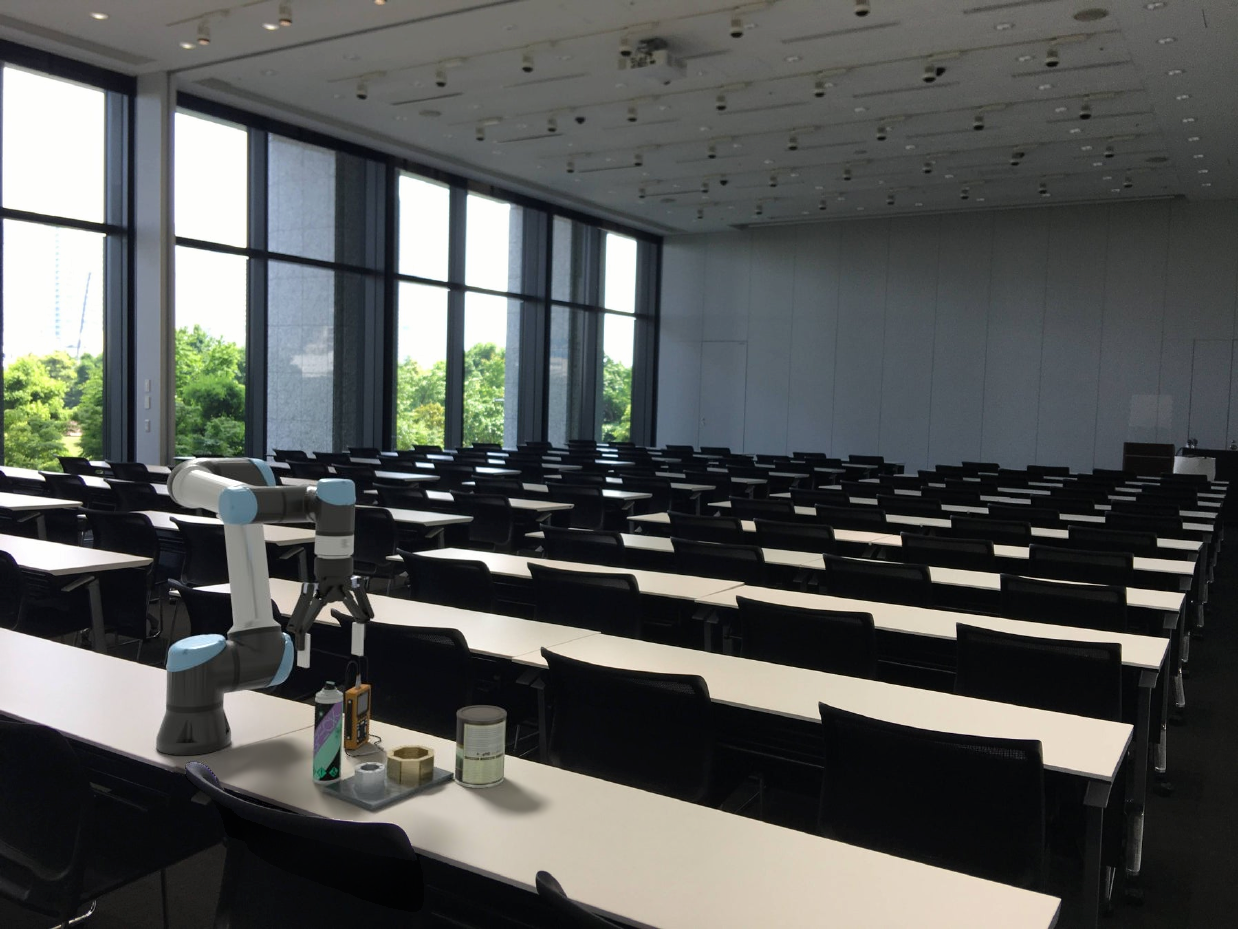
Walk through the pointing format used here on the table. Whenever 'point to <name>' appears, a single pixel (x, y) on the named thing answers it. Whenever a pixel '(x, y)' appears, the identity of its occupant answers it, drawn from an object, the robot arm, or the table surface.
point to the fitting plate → (390, 778)
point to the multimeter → (357, 714)
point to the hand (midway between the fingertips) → (331, 660)
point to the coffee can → (480, 746)
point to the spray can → (328, 735)
